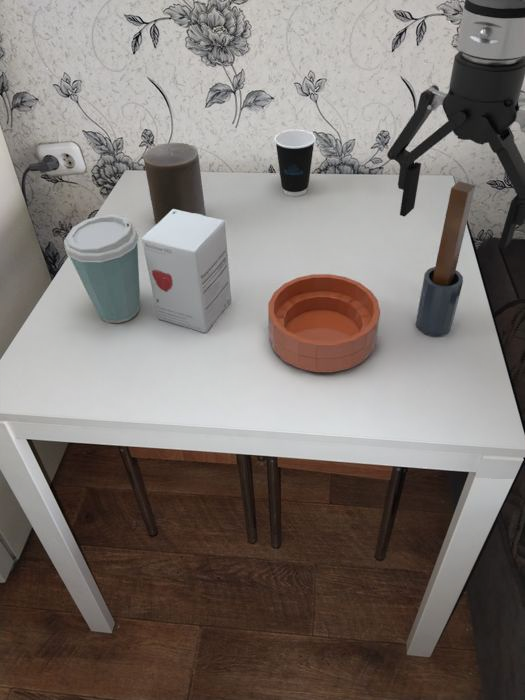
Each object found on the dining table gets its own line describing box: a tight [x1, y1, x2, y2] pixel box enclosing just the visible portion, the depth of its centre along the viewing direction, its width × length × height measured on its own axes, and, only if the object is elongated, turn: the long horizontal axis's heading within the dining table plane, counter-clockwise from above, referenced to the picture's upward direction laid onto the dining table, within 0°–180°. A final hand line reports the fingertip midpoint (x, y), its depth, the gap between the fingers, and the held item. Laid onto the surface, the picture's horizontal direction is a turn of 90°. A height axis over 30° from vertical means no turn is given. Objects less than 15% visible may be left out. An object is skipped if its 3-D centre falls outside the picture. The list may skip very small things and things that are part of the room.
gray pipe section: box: [415, 266, 464, 338], centre depth 85 cm, size 5×5×9 cm
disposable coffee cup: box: [63, 213, 141, 324], centre depth 89 cm, size 11×11×15 cm
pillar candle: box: [143, 142, 207, 225], centre depth 107 cm, size 10×10×15 cm
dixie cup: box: [273, 128, 317, 197], centre depth 116 cm, size 8×8×11 cm
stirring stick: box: [432, 180, 476, 286], centre depth 80 cm, size 2×2×22 cm
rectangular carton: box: [141, 209, 232, 334], centre depth 88 cm, size 9×9×15 cm
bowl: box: [267, 273, 381, 373], centre depth 85 cm, size 16×16×6 cm
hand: (453, 227), depth 77 cm, fingers open, 13 cm apart
